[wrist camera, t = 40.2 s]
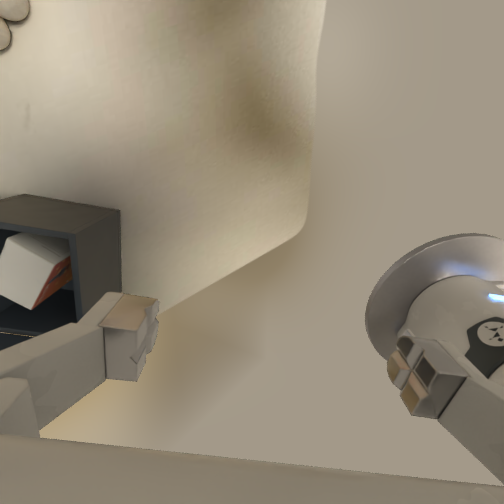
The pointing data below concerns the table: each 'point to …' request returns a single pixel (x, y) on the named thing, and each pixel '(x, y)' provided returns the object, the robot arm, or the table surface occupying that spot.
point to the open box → (81, 253)
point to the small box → (33, 268)
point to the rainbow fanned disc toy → (11, 17)
